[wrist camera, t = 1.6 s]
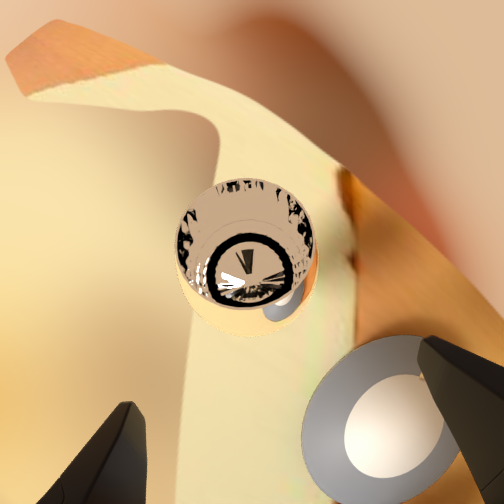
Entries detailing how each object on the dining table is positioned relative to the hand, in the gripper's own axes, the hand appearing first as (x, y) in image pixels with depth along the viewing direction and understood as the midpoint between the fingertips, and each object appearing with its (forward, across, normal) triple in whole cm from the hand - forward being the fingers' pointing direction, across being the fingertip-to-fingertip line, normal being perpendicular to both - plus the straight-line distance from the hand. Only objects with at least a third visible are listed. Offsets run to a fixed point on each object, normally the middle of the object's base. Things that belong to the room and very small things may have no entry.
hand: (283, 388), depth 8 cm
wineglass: (+12, 0, +5) cm, 13 cm away
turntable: (+5, -7, +13) cm, 16 cm away
